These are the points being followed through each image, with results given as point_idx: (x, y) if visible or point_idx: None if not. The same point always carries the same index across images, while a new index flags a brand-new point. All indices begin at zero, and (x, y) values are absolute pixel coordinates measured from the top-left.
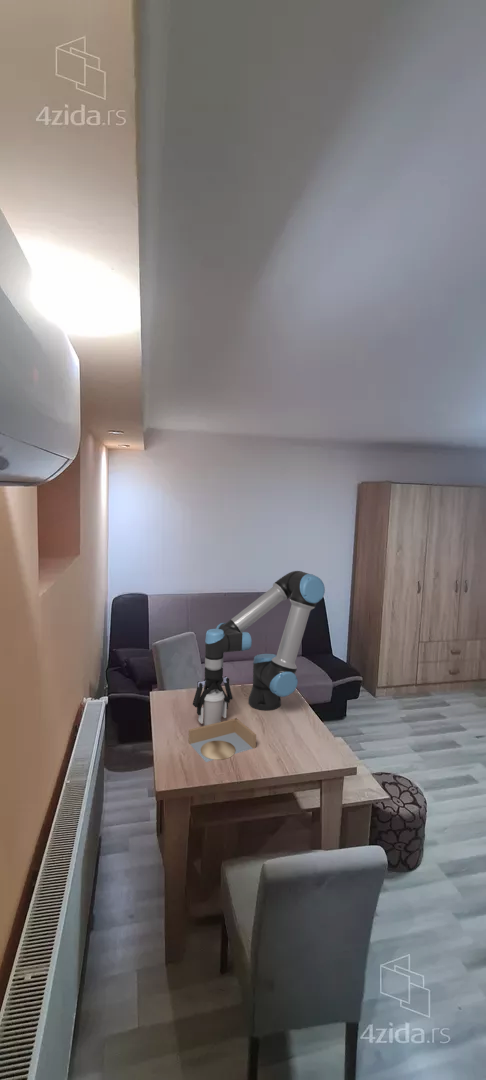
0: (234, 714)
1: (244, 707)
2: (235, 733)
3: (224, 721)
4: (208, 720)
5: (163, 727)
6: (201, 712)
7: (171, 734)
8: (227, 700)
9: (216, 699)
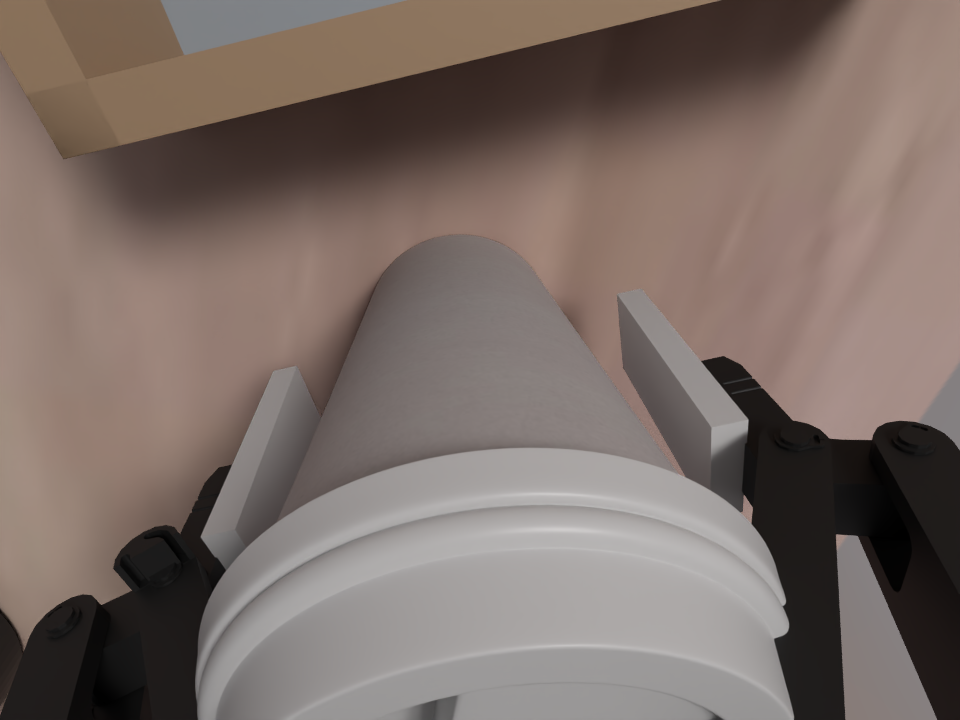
0: (174, 503)
1: (63, 594)
2: (180, 22)
3: (333, 72)
4: (552, 301)
5: (904, 401)
6: (708, 374)
7: (920, 261)
8: (166, 576)
9: (496, 509)
